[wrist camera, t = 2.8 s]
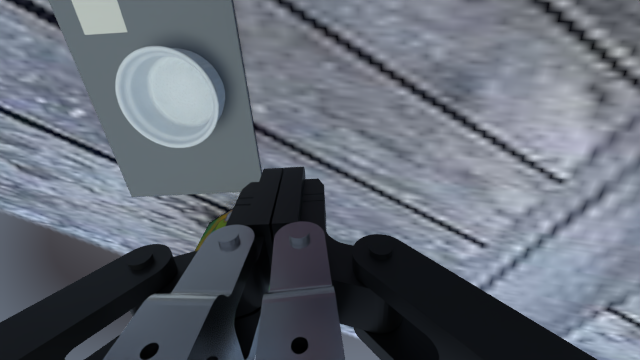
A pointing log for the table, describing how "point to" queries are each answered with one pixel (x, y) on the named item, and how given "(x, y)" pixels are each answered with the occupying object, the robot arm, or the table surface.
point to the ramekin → (170, 95)
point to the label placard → (174, 32)
